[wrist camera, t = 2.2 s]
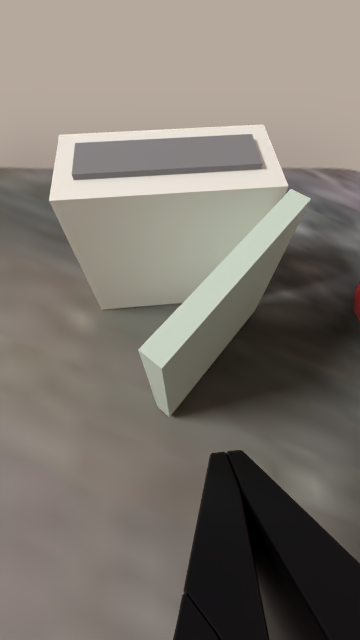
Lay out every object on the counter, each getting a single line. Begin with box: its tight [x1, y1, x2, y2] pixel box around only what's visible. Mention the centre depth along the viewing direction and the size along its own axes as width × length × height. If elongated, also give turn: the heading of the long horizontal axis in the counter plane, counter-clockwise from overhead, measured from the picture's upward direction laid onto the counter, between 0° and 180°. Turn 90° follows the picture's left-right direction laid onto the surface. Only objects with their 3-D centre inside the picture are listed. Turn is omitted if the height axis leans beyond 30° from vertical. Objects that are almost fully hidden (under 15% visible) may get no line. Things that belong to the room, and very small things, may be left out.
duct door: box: [139, 189, 311, 417], centre depth 15 cm, size 1×10×10 cm, turn 141°
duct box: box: [49, 125, 288, 310], centre depth 19 cm, size 5×11×10 cm, turn 96°
